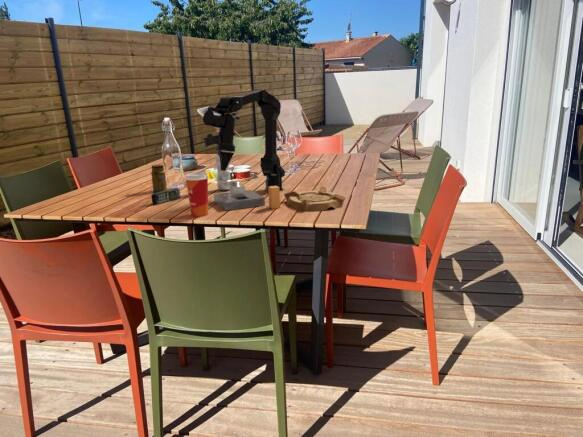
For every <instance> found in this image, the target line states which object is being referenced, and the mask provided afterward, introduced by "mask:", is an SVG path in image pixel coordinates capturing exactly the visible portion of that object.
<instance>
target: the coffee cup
mask: <svg viewBox="0 0 583 437" xmlns="http://www.w3.org/2000/svg"><path fill="white" fill-rule="evenodd" d="M184 179H185V181H186V188H187V189H186V190H187V195H188V201H189V208H190V213H191V216H192V217H193V218H196V217H197V218H199V217H200V216H202V217H206V216H208V215H209V191H208V190H209V185H208V184H209V183H208V182H209V181H208V179H209V176H208V174H207V173H206V172H190V173H187V174H185V178H184ZM205 215H206V216H205Z"/></svg>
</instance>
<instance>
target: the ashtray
mask: <svg viewBox="0 0 583 437" xmlns="http://www.w3.org/2000/svg"><path fill="white" fill-rule="evenodd" d="M283 195H284V197H285V199H286V204H287V207H289V208H290V209H292V210H297V211H305V212H322V211H326V210H328V209H329V208H333V209H335V210H337V209H339V208H342V207H343V205H345V204H344V203H345V200H346V197H345V196H343V195H341V194H338V193H335V192H333V191H332V192H331V191H327V187H325V186H321V187H320V188H319V190H305V191H300V192H297V191H296V190H293V191H289V192H287V193H284V194H283Z"/></svg>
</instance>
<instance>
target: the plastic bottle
mask: <svg viewBox="0 0 583 437" xmlns="http://www.w3.org/2000/svg"><path fill="white" fill-rule="evenodd" d="M214 160H215V164H216V170H217V180H216V181H217V183H216V186H217V189H218V190H219V191H228V190H230V181H232V179H231V174H230V171H231V170H230V162H231V161H230V162H229V164H228V166H227V168H226V170H225V171H223V170H221V166H220V157H219V155H218V154H217V153H216V155H215V156H214Z"/></svg>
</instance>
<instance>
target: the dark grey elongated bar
mask: <svg viewBox="0 0 583 437" xmlns="http://www.w3.org/2000/svg"><path fill="white" fill-rule="evenodd" d="M181 197H182V195H181V191H180V189H179V188H177V187H173V188H167V190H164V191H160V192H156V193H153V194H152V193H151V203H152V204H151V205H153V206H159V205H161V204H165V203H169V202H173V201H176V200H178V199H179V198H181Z"/></svg>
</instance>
